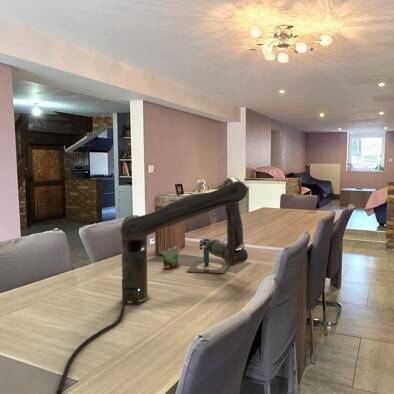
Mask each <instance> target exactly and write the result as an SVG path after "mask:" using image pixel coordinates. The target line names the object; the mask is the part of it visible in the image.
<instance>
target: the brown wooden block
mask: <svg viewBox="0 0 394 394" xmlns="http://www.w3.org/2000/svg"><path fill="white" fill-rule="evenodd" d="M175 200H176V199H170V200H165V201H162V202H158V203H156V204H154V212H155V211H157V210H159V209H160V208H162V207H164V206H166V205H167V204H169V203H171V202H173V201H175ZM173 245H176V246H178V247H179V249H180V250H181V249H183V248H184V247H186V221H184V222H181V223H178V224H176V225H173V226H169V227H166V228H163V229H160V230H158V231H156V232H154V253H155V256H158V255H159V256H160V255H161V256H163V255H162V252H163V250H167V249H168V248H172V247H173Z"/></svg>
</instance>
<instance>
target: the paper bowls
mask: <svg viewBox="0 0 394 394" xmlns="http://www.w3.org/2000/svg"><path fill="white" fill-rule="evenodd" d="M219 240H220V241H223V242H224V243H226V244H227V236H226V237H222V238H220V239H219ZM239 247H242V248H244V249H245V239H244V238H243V243H242V245H240V246H239Z"/></svg>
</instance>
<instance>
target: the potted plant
mask: <svg viewBox="0 0 394 394" xmlns="http://www.w3.org/2000/svg"><path fill="white" fill-rule="evenodd" d="M180 252H181V249H179V247H178V246H176V245H173V247H172V248H168V249H167V250H163V252H162V255H161V256H162V264H163V270H172V269H176V268H178V265H179V254H180Z"/></svg>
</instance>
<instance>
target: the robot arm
mask: <svg viewBox="0 0 394 394" xmlns="http://www.w3.org/2000/svg"><path fill="white" fill-rule="evenodd" d="M247 194H248V188H247V185H246V184H245V183H244V182H243V181H241V180H240V179H238V178H237V177H234V176H229V177H226V178H225V179H224V180H223V181H222V183H221V187H220V188H218V189H216V190H213V191H208V192H201V193H193V194H189V195H186V196H182V197H181V198H180V197H179V198H178V199H174V200H175V201H173V202H171V203H169V204H167V205H166V206H164V207H162V208H160V209H159V210H157V211H155V210H154V211H152V212H150V213H146V214H143V215H137V214H132V215H129V216H127V217H125V218H124V219H123V221H122V223H121V225H120V236H121V277H122V278H121V301H122V306H121V310H120V313H119V316H118V318H117V320H116V321H114V322H113V323H111V324H109V325H108V326H105V327H104V328H102V329H100V330H99V331H97V332H96V333H94V334H92V335H91V336H89V337H88V338H87V339H86V340H84V341H83V342H82V343H81V344H80V345H79V346H78V347H77V348H76V349H75V350H74V352H73V353H72V354H71V356H70V357H69V358H68V360H67V363H66V364H65V367H64V370H63V373H62V375H61V378H60V381H59V384H58V387H57V390H56V394H61V393H62V391H63V388H64V385H65V382H66V379H67V375H68V374H69V373H68V372H69V371H70V367H71V365H72V362H73V361H74V359H75V358H76V356H77V355H78V353H79V352H80V351H81V349H83V348H84V347H85V346H86V345H87V344H89V342H91V341H93V340H94V339H95V338H97V337H99V336H100V335H101V334H103V333H104V332H106V331H108V330H110V329H112V328H113V327H115V326H117V325H118V324H119V323H120V322H121V320H122V318H123V316H124V312H125V308H126V306H127V304H128V305H129V304H130V305H139V304H141V303H143V302H145V301H147V300H148V299H149V288H148V287H149V286H148V285H149V283H148V237H149V236H150V235H152V234H155V232H156V231H158V230H160V229H163V228H166V227H169V226H173V225H176V224H178V223H181V222H184V221H185V222H187V221H190V220H192V219H194V218H197V217H200V216H203V215H204V214H207V213H209V212H212V211H213V210H216V209H220V208H222V207H224V208H225V209H224V210H225V216H226V220H225V221H226V237H227V244H226V243H224V242H223V241H220V239H209V242H208V241H203V239H200V240H199V250H200V251H201V250H204V248H205V249H208V250H209V254H211V255H213V256H215V257H216V258H219V259H222V260H224V262H225V263H226V264H227V265H228V267H235V266H238V265H241V264H244V263H245V262H246V261H247V260H248V258H249V253H248V251H247V250H246V249H245V247H244V248H242V247H239V246H240V245H242V243H243V239H244V226H243V220H242V216H241V212H240V211H241V210H240V202H241V201H243V200H244V199H245V198H246V196H247Z"/></svg>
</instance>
